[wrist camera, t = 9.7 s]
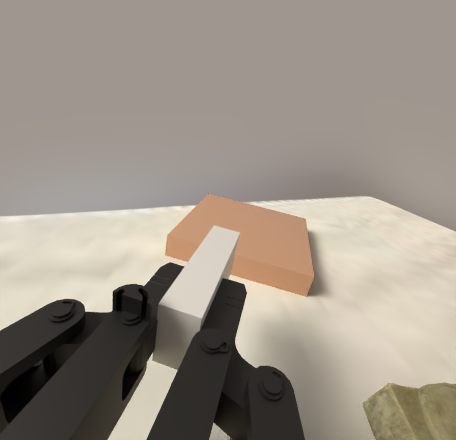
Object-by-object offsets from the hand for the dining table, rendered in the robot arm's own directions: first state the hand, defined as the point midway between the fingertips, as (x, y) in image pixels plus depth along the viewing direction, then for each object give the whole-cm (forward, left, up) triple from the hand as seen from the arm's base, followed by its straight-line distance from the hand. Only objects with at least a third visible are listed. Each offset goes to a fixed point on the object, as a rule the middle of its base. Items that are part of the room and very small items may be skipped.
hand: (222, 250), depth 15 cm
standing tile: (-1, -8, -6) cm, 10 cm away
